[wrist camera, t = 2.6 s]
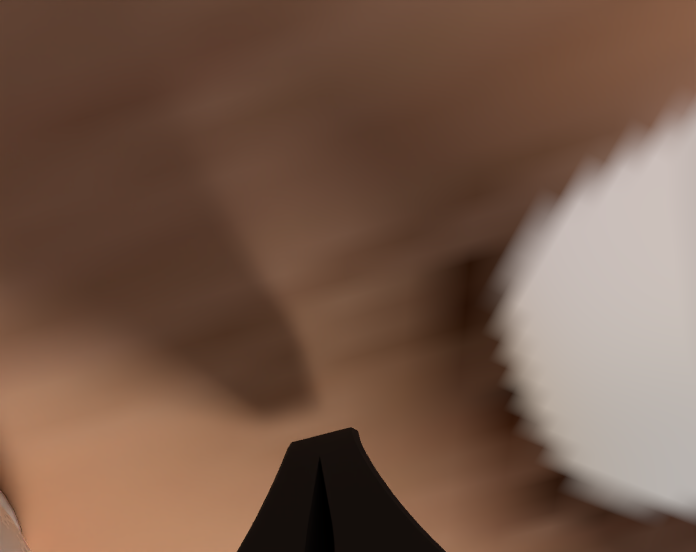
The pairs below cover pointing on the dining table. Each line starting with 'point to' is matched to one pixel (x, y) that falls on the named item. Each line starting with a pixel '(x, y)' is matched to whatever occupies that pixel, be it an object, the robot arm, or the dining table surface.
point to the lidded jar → (10, 529)
